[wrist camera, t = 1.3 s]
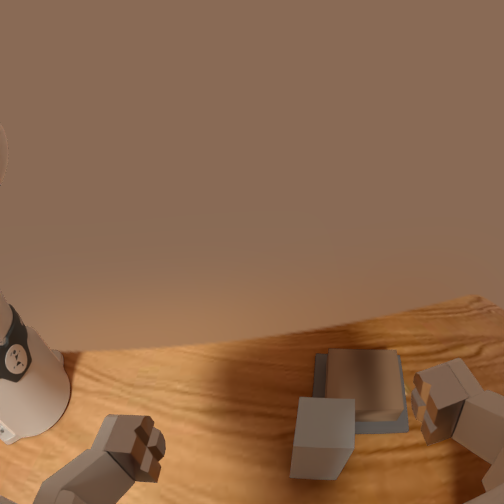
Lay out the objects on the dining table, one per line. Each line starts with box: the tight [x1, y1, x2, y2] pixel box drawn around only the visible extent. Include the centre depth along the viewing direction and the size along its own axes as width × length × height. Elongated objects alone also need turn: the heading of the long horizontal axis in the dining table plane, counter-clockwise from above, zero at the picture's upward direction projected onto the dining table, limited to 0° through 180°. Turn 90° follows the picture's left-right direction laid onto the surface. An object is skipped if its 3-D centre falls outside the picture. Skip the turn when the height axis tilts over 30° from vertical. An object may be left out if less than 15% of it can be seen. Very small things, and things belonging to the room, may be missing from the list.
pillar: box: [290, 397, 355, 480], centre depth 26 cm, size 5×5×10 cm
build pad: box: [313, 353, 409, 434], centre depth 36 cm, size 12×12×1 cm
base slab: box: [325, 348, 404, 422], centre depth 35 cm, size 9×9×3 cm
